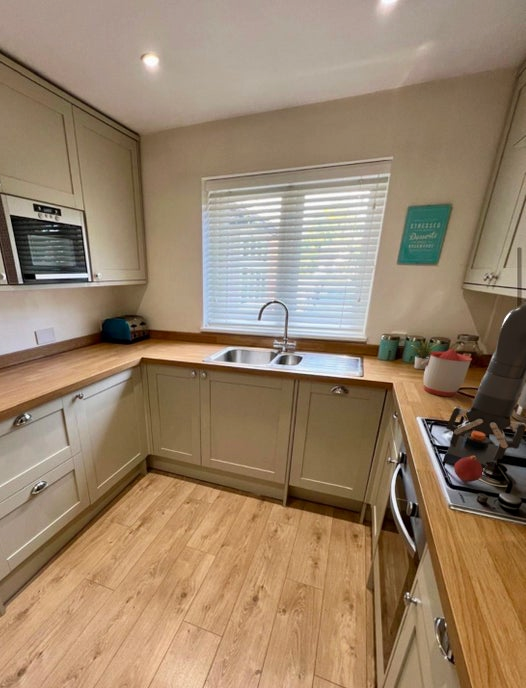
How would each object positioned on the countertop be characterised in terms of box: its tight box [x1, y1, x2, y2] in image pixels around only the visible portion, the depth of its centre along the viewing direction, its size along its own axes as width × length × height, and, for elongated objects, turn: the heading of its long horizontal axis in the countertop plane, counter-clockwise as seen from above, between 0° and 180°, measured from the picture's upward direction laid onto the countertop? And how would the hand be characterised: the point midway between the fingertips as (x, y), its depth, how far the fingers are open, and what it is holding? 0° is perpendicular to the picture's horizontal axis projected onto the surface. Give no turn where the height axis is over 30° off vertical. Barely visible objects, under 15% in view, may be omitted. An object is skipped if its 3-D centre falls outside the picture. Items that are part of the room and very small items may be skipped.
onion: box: [453, 456, 483, 483], centre depth 85 cm, size 6×6×8 cm
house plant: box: [410, 339, 440, 370], centre depth 182 cm, size 14×14×16 cm
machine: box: [443, 432, 499, 469], centre depth 96 cm, size 16×11×5 cm, turn 139°
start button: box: [470, 430, 486, 441], centre depth 99 cm, size 3×3×2 cm
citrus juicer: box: [422, 348, 473, 397], centre depth 146 cm, size 16×17×20 cm
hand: (473, 452), depth 83 cm, fingers open, 8 cm apart
